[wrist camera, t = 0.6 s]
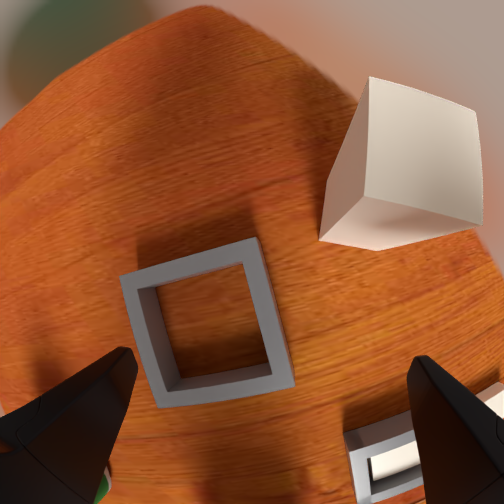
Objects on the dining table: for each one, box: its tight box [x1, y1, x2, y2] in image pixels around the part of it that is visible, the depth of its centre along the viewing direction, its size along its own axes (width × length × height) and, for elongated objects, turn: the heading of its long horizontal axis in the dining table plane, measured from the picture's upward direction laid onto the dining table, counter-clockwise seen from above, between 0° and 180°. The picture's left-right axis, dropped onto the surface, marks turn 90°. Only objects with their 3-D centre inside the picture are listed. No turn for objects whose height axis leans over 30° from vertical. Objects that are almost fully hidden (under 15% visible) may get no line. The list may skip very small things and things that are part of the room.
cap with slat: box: [343, 382, 504, 504], centre depth 17 cm, size 7×16×3 cm, turn 105°
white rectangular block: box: [319, 76, 483, 251], centre depth 14 cm, size 4×4×13 cm
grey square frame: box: [119, 237, 295, 408], centre depth 20 cm, size 10×10×3 cm
